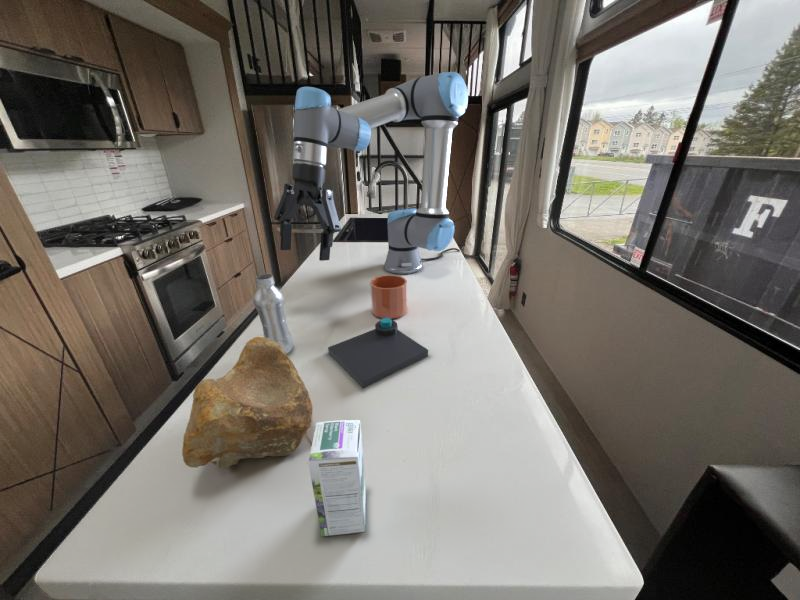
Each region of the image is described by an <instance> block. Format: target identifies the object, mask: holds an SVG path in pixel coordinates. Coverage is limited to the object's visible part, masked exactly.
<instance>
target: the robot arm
mask: <svg viewBox="0 0 800 600" xmlns="http://www.w3.org/2000/svg"><path fill="white" fill-rule="evenodd" d="M468 92H469V91H468V87H467V84H466V83H465V80H464V78H463V76H462V75H461V74H460V73H458V72H456V71H442V72H440V73H434V74H430V75H425V76H419V77H414V78H413V79H410V80H407V81H405V82H404V83H401V84H399V85H397V86H394V87H391V88H388V89H387V90H386V91H385V93H384V94H381V95H378V96H376V97H372V98H369V99H366V100H363V101H360V102H356V103H354V104H351V105H347V106H345V107H342V108H339V109H336V108H335V107H332V101H331V100H332V99H331V95H330V94H329V93H328V92H327V91H325V90H324V89H321V88H317V87H313V86H301V87H299V88H298V89H297V90H296V95H295V101H294V108H293V111H294V119H293V120H294V122H293V123H294V124H293V125H294V126H293V148H292V149H293V150H292V160H293V162H294V163H293V164H292V165H291V166H292V168H291V179H292V180H293V181H294V184H291V183H284V184H283V193H282V195H281V198H280V200H279V203H278V204H277V205H278V206H277V208H276V210H275V212H274V213H275V214H274V216H273V219H274V220H275V221H278V223H279V236H280V249H279V250H281V251H291V250H292V230H293V229H292V228H293V224H292V220H293V218H294V217H295V216H296V214H297V213H298V212H299V210H300V208H302V207H303V206H305V207H310V208H311V209H312V210H313V212H314V214H315V215H316V218H317V220H318V223H319V224H320V227H321V228H322V232H321V233H320V245H319V257H318V260H319V261H320V262H323V261H330V256H331V248H332V247H333V243H334V234H336V233H340V232H342V227H341V223H340V219H339V217H338V216H339V215H338V213H337V209H336V205H335V201H334V190H333V189H329V188H323V185H325V182H326V172H327V171H326V169H325V168H324V167H326V166H327V156H328V149H348V150H351V152H353V151H356V152H362V151H365V150H366V149H367V148H368V147H369V145H370V142H371V137H372V129H374V128H377V127H379V126H382V125H384V124H388V123H390V122H393V123H399V122H402V121H407V120H420V123H421V125H422V126H423V128H424V129H425V133H424V147H423V148H424V150H423V165H422V179H421V196H420V206H419V207H418V208H403V209H397V210H392V211H390V212H389V213H388V214H387V222H386V225H387V227H386V228H387V241H388V243H387V245H388V249H387V250H388V251H387V254H386V258H385V261H384V270H385V271H387V272H388V273H391V274H394V275H395V274H396V275H409V274H415V273H417V272H420V271H422V269H423V261H434V260H439V259H441V258H443V255H444V253H446V252H449V251H456V252H461V250H460V249H458V247H457V248H456V247H451V248H448V246H449V245H450V244H451V243H452V240H453V239H454V235H455V224H454V221H453V220H452V219H450V211H449V210H448V209H447V207H446V206H447V205H446V204H447V192H448V181H449V172H450V171H449V170H450V162H451V161H450V159H451V148H452V138H453V131H454V129H455V128H456V127H457V126H458V124H459V118H460V117H461V116H463V115H464V114H465V113H466V110H467V108H468V103H469V94H468ZM419 248H421V249H424V250H428V251H429V252H431V251H433V252H440V255H439V256H435V257H428V258H424V257H423V258H421V255H420V251H419Z"/></svg>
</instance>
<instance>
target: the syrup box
mask: <svg viewBox="0 0 800 600" xmlns="http://www.w3.org/2000/svg"><path fill="white" fill-rule="evenodd" d="M361 426H362V425H361V420H359V419H345V420H344V419H340V420H337V419H336V420H327V421H319V422H316V423H315V428H314V433H313V438H312V443H311V447H310V452H309V456H308V457H309V458H308V461H307V462H308V463H307V464H308V469H309V474H310V481H311V486H312V492H313V496H314V497H313V498H314V502H315V503H314V504H315V508H316V512H317V517H318V518H317V519H318V523H319V529H320V535H321V536H322V537H329V536H338V535H349V534H357V533H365V531H366V499H367V498H366V491H367V490H366V487H367V486H366V473H365V463H364V461H365V460H364V451H363V450H364V449H363V440H362V439H363V438H362V427H361Z"/></svg>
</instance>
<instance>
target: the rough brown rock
mask: <svg viewBox="0 0 800 600" xmlns="http://www.w3.org/2000/svg"><path fill="white" fill-rule="evenodd" d="M299 374H300V373H299V372H298V370H297V368H296V366H295V364H294V363H293V361H292V360H291V358H289V356H288V355H287V354H286V353H285V352H284V350H283V349H282V347H281V346H280V345H279V344H278V343H277V342H274V341H272V340H270V339H269V338H264V336H254V337H253V338H251V339H249V340H248V341H247V342H246V343H245V345H244V346H243V349H242V350H241V353H240V354H239V357H238V360H237V362H236V363H235V364H234V365H233V367H232V368H231V370H229V371H228V372H227V373H226V374H225V375H223V376H222V377H219V378H216V379H213V378H206V379H204V380H202V381H200V382H199V383H198V384H197V385H196V386H195V388H194V390H193V394H192V405H191V408H190V414H189V420H188V422H187V425H186V428H185V432H184V435H183V440H182V449H181V450H182V451H181V452H182V459H183V462H184V464H185V465H186V466H187V467H189V468H194V469H195V468H199V467H203V466H206V465H208V464H209V463H211V464H213V465H216V466H218V468H220V469H222V470H224V469H227V468H229V467H231V466H234V465H237V464H238V463H239V462H240V460H245V459H250V458H253V459H262V458H265V457H266V456H267V457H268V456H269V457H284V456H285V457H286V456H291V455H292V454H293V453H294V452H296V450H297V449H298V448H299V446H300V445H301V444H302V443H301V442H302V439H303V437H304V436H305V435H306V434H307V431H308V430H309V429H310V427H311V425H312V422H313V421H312V420H313V419H312V418H313V403H312V400H311V396H310V393H309V391H308V390H307V388H306V385H305V383H304V381H303V379H302V377H301V376H300V375H299Z"/></svg>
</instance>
